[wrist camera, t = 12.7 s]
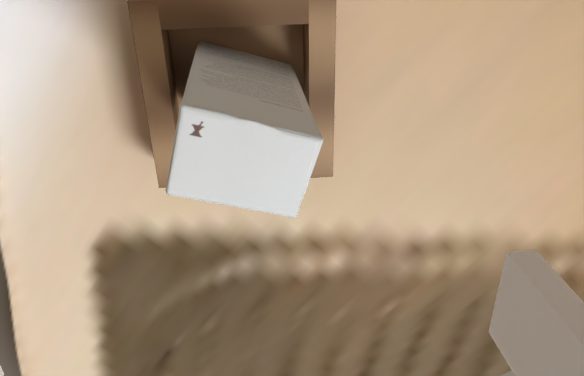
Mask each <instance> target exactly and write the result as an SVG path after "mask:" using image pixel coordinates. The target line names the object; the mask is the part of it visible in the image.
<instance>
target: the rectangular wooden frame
mask: <svg viewBox="0 0 584 376" xmlns="http://www.w3.org/2000/svg"><path fill="white" fill-rule="evenodd" d="M127 2H128V8H129V13H130V19H131V25H132V31H133V37H134V43H135V49H136V55H137V61H138V66H139V72H140V78H141V84H142V90H143V96H144V102H145V108H146V114H147V120H148V125H149V131H150V137H151V143H152V149H153V155H154V161H155V167H156V173H157V178H158V184H159V188H165V187H166V185H167V179H168V173H169V167H170V161H171V155H172V149H173V144H174V138H175V132H176V126H177V120H178V114H179V108H180V105H181V102H182V99H183V96H184V92H185V88H186V84H187V80H188V77H189V73H190V69H191V66H192V62H193V59H194V55H195V51H196V48H197V44H198V42H199V41H204V42H207V43H211V44H215V45H219V46H223V47H227V48H231V49H234V50H238V51H242V52H246V53H250V54H253V55H257V56H261V57H265V58H268V59H272V60H276V61H280V62H283V63H287V64H291V65H292V66H293V69H294V71H295V73H296V76H297V78H298V81H299V83H300V86H301V88H302V90H303V93H304V95H305V98H306V100H307V102H308V105H309V107H310V110H311V112H312V114H313V117H314V119H315V121H316V124H317V126H318V128H319V131H320V133H321V135H322V137H323V143H322V146H321V149H320V152H319V155H318V158H317V161H316V163H315V166H314V169H313V172H312V174H311V177H310V178H317V177H333V148H334V95H335V43H336V0H128V1H127Z"/></svg>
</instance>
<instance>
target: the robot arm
mask: <svg viewBox="0 0 584 376" xmlns="http://www.w3.org/2000/svg"><path fill="white" fill-rule="evenodd" d="M489 333H490V335H491V337H492V338H493V340H494V342H495V343H496V345H497V347H498V348H499V350H500V351H501V353H502V355H503V356H504V358H505V360H506V361H507V363H508V365H509V366H510V368H511V370H512V371H513V373H514V374H515V376H584V302H583V301H582V300H581V299H580V298H579V297H578V296H577V294H576V293H575V292H574V291H573V290H572V289H571V288H570V287H569V286H568V285H567V283H566V282H565V281H564V280H563V279H562V278H561V277H560V276H559V275H558V274H557V272H556V271H555V270H554V269H553V268H552V267H551V266H550V265H549V264H548V262H547V261H546V260H545V259H544V258H543V257H542V256H541V255H540V254H539V253H538V251H537V250H524V251H510V252H507V254H506V258H505V262H504V267H503V271H502V275H501V280H500V284H499V289H498V293H497V297H496V302H495V306H494V310H493V315H492V319H491V323H490V328H489ZM0 376H4V373H3V370H2V368H1V366H0Z"/></svg>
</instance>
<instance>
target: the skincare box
mask: <svg viewBox="0 0 584 376" xmlns="http://www.w3.org/2000/svg"><path fill="white" fill-rule="evenodd" d="M322 143H323V137H322V135H321V133H320V131H319V128H318V126H317V124H316V121H315V119H314V117H313V114H312V112H311V110H310V107H309V105H308V102H307V100H306V98H305V95H304V93H303V90H302V88H301V86H300V83H299V81H298V78H297V76H296V73H295V71H294V69H293V66H292V65H291V64H287V63H283V62H280V61H276V60H272V59H268V58H265V57H261V56H257V55H253V54H250V53H246V52H242V51H238V50H234V49H231V48H227V47H223V46H219V45H215V44H211V43H207V42H204V41H199V42H198V44H197V48H196V51H195V55H194V59H193V62H192V66H191V69H190V73H189V77H188V80H187V84H186V88H185V92H184V96H183V99H182V102H181V105H180V108H179V114H178V120H177V126H176V132H175V138H174V144H173V149H172V155H171V161H170V167H169V173H168V179H167V185H166V193H167V194H168V195H173V196H178V197H183V198H189V199H194V200H199V201H205V202H210V203H216V204H222V205H227V206H233V207H239V208H245V209H250V210H256V211H261V212H267V213H272V214H277V215H283V216H288V217H292V218H295V217H296V216H297V214H298V211H299V208H300V205H301V203H302V200H303V197H304V194H305V191H306V189H307V186H308V183H309V180H310V177H311V174H312V172H313V169H314V166H315V163H316V161H317V158H318V155H319V152H320V149H321V146H322Z"/></svg>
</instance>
